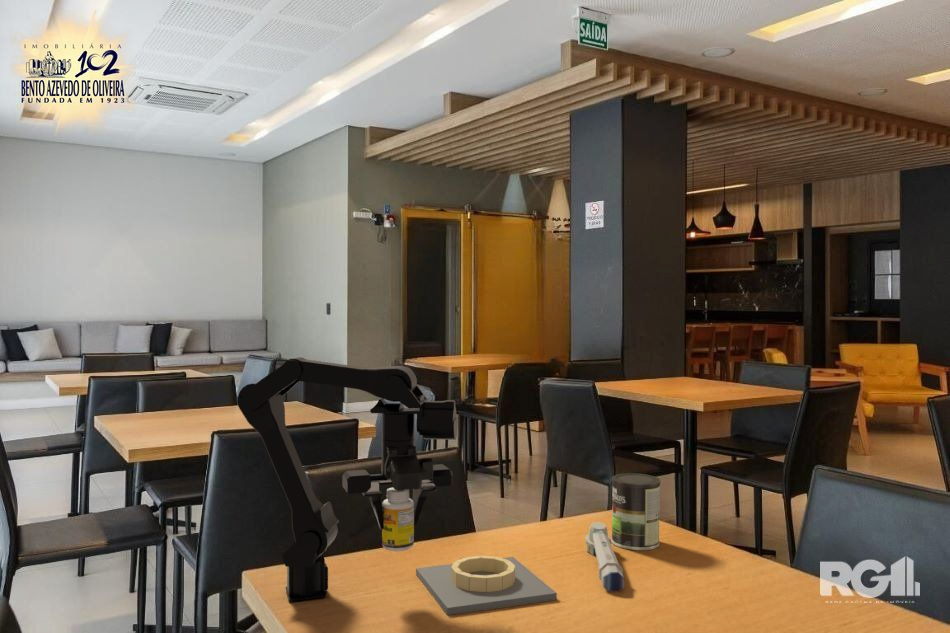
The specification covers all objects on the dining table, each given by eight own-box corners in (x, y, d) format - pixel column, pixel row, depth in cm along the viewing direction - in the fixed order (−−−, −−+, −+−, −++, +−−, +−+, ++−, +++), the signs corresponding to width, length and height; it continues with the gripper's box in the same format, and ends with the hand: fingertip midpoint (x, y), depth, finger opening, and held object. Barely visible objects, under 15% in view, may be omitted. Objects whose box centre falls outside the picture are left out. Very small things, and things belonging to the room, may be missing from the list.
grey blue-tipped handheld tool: (599, 571, 135) (584, 514, 160) (598, 606, 136) (583, 543, 161) (628, 572, 135) (609, 514, 160) (627, 606, 136) (608, 544, 161)
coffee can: (622, 552, 157) (622, 484, 157) (604, 537, 167) (605, 474, 167) (668, 549, 159) (668, 482, 159) (648, 534, 169) (648, 472, 169)
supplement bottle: (377, 545, 133) (377, 487, 133) (406, 540, 136) (406, 484, 136) (388, 554, 128) (389, 494, 128) (418, 549, 131) (419, 491, 131)
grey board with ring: (447, 615, 125) (447, 592, 125) (415, 574, 144) (415, 555, 144) (556, 599, 131) (556, 578, 131) (512, 562, 150) (513, 544, 150)
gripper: (353, 450, 121) (353, 546, 121) (463, 443, 127) (463, 535, 128) (341, 438, 132) (341, 527, 132) (443, 432, 138) (443, 517, 138)
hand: (398, 527), depth 132 cm, fingers closed on supplement bottle, 6 cm apart
